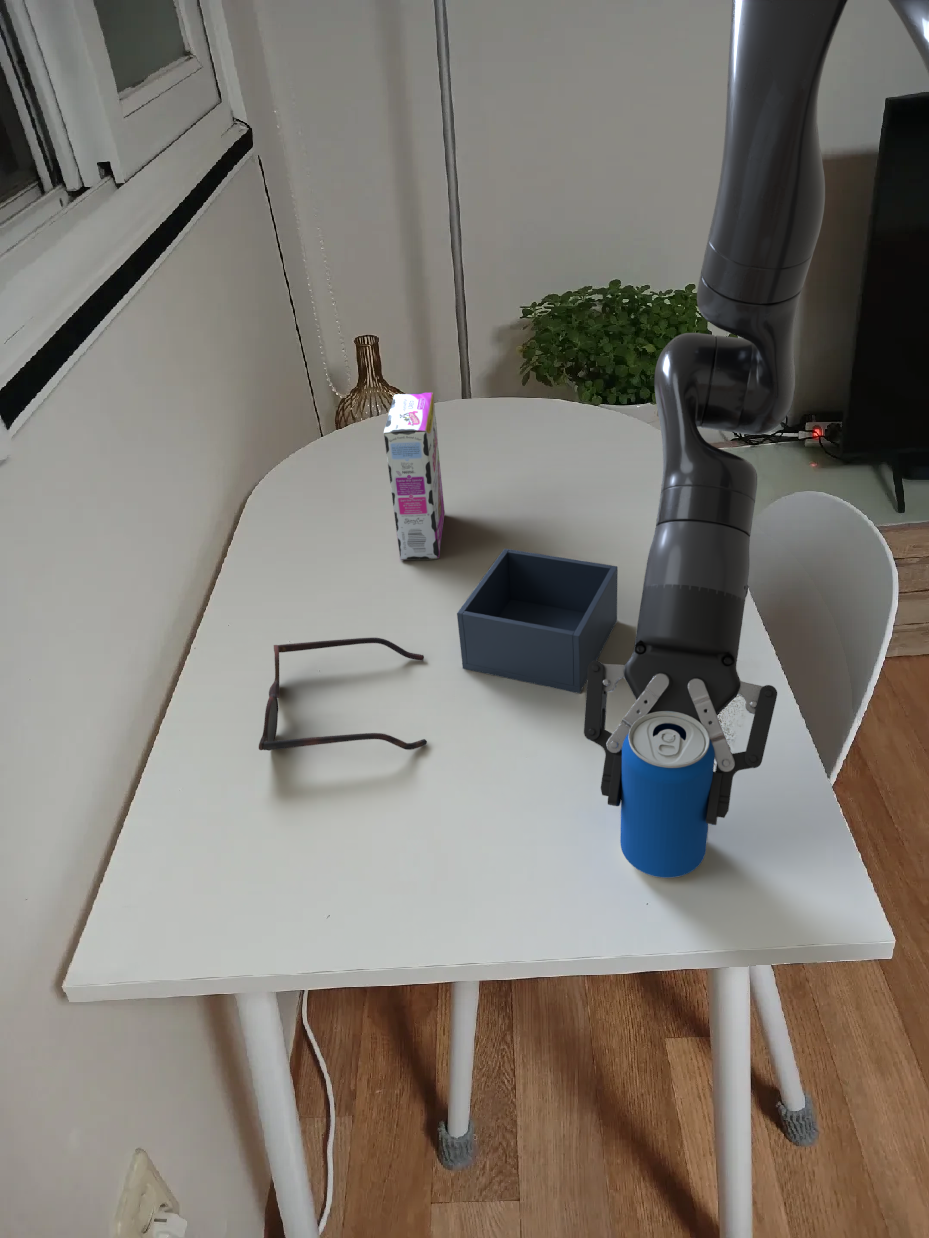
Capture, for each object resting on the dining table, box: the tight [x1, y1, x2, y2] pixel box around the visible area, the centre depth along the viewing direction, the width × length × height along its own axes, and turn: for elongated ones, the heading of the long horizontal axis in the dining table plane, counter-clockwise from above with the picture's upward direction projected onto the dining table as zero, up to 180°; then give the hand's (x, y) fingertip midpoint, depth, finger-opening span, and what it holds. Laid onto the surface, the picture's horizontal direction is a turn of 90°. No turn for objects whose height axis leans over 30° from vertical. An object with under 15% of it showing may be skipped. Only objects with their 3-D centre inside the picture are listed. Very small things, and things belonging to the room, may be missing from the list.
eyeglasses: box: [258, 637, 428, 752], centre depth 90 cm, size 15×15×5 cm
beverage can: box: [619, 711, 715, 879], centre depth 71 cm, size 6×6×12 cm
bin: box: [456, 548, 619, 694], centre depth 95 cm, size 12×12×7 cm
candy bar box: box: [383, 392, 446, 561], centre depth 111 cm, size 11×5×16 cm, turn 178°
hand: (662, 813), depth 69 cm, fingers closed on beverage can, 6 cm apart
